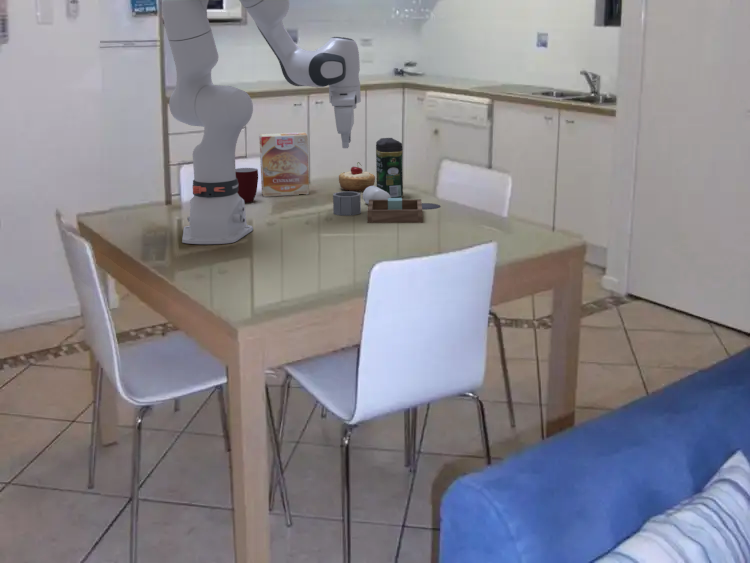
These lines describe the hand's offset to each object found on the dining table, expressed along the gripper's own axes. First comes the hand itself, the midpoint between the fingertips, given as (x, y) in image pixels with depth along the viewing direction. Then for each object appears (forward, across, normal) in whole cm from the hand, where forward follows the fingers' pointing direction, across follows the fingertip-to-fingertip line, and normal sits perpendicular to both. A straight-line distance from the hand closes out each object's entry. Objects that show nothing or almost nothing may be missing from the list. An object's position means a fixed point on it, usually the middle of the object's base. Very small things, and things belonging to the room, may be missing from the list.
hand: (346, 145), depth 262 cm
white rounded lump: (+20, -10, +10) cm, 24 cm away
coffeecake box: (+21, -32, -22) cm, 44 cm away
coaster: (+20, -8, +22) cm, 31 cm away
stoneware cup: (+20, 0, 0) cm, 20 cm away
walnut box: (+20, +6, +14) cm, 25 cm away
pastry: (+21, -38, 0) cm, 44 cm away
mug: (+20, -20, -34) cm, 44 cm away
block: (+20, +6, +14) cm, 25 cm away
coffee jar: (+21, -26, +12) cm, 35 cm away
